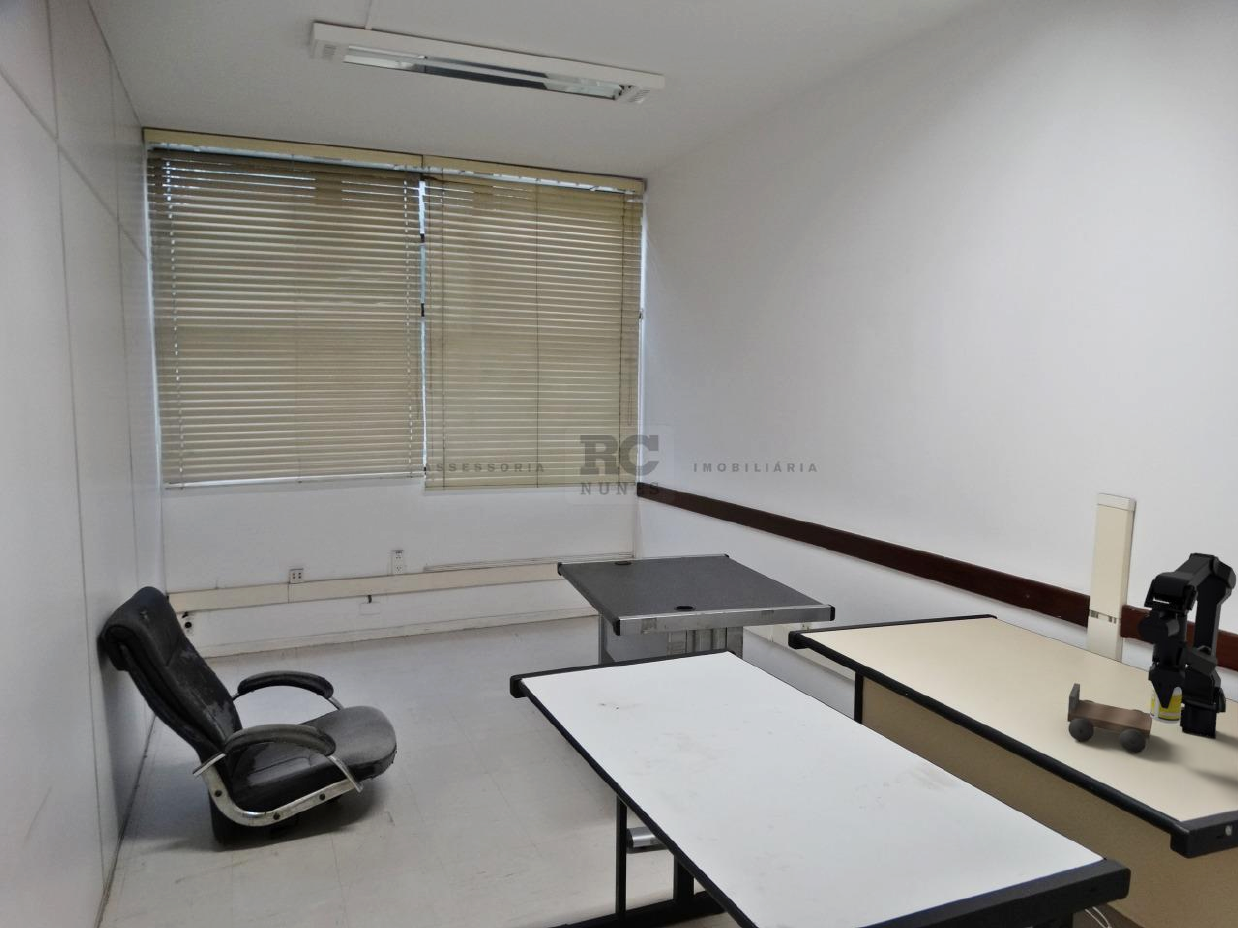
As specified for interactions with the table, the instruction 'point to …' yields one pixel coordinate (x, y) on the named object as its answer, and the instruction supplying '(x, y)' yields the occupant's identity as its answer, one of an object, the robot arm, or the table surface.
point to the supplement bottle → (1169, 714)
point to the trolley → (1107, 722)
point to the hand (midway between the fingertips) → (1165, 703)
